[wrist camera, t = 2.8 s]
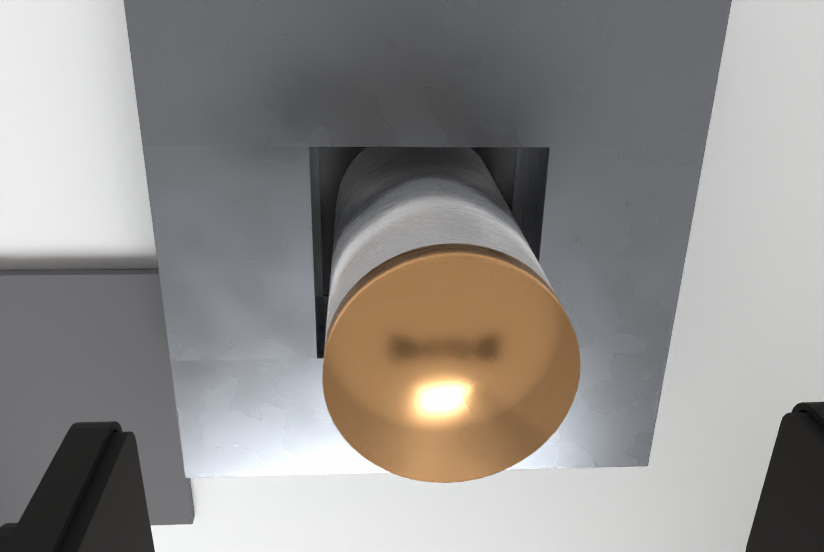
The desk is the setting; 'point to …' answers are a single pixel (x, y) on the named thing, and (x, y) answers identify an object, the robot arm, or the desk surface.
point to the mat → (87, 379)
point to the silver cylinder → (440, 321)
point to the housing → (414, 127)
